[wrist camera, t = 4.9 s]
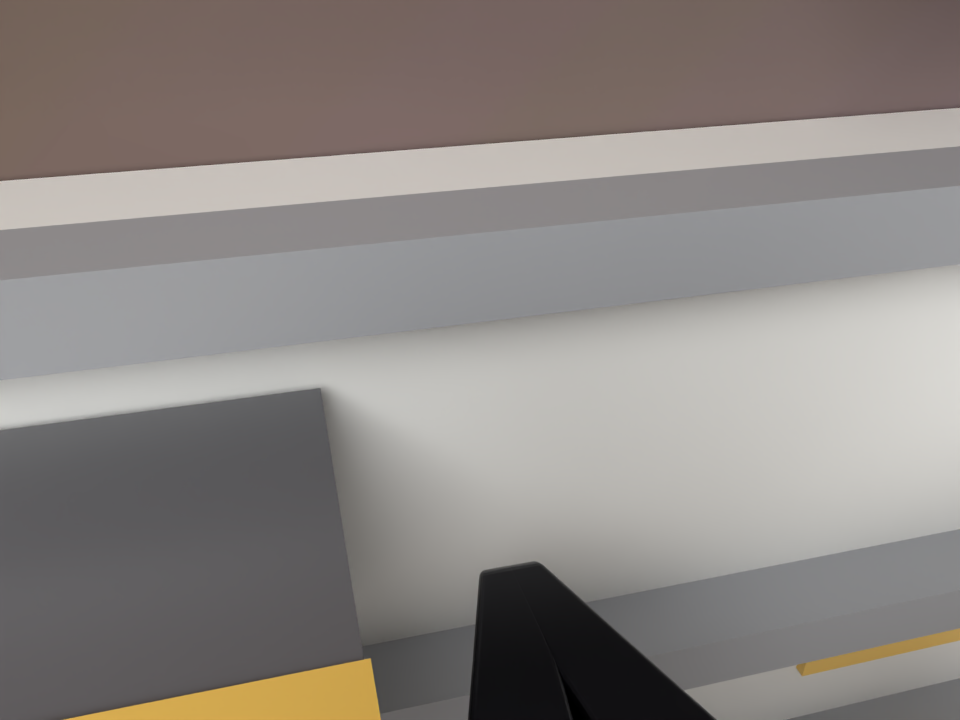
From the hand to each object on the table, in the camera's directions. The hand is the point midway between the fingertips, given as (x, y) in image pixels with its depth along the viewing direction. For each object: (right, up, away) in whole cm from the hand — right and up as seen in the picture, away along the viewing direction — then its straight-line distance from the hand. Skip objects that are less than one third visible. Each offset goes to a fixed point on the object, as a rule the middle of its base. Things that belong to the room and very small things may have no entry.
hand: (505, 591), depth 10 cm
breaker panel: (+1, -3, +7) cm, 7 cm away
